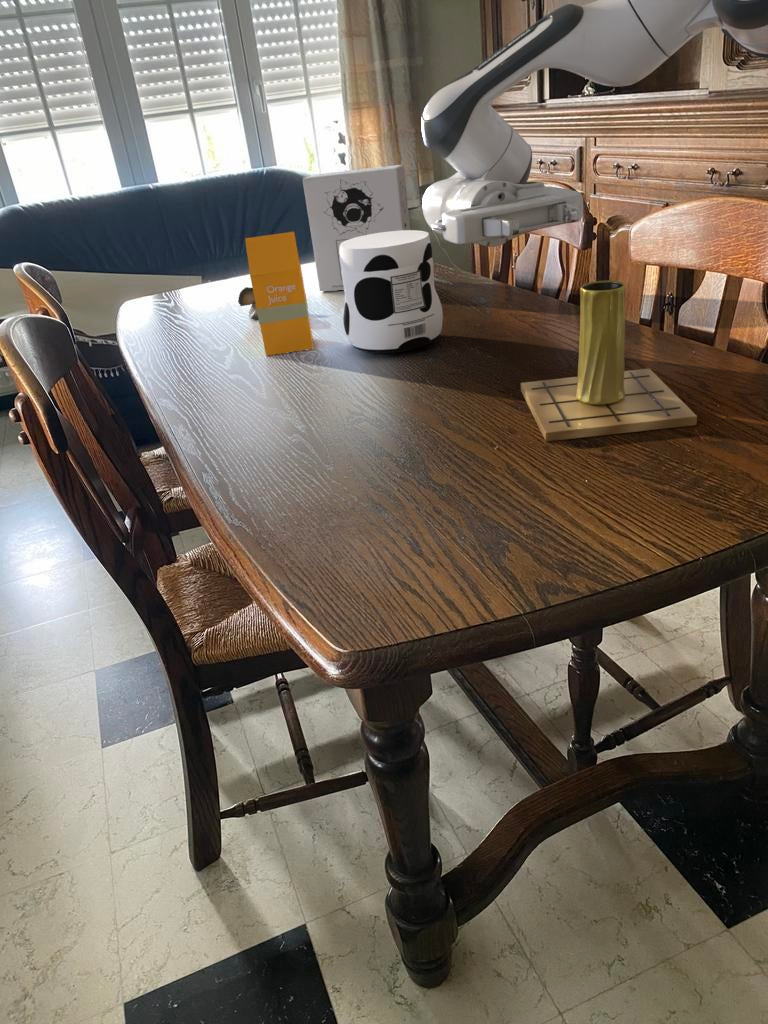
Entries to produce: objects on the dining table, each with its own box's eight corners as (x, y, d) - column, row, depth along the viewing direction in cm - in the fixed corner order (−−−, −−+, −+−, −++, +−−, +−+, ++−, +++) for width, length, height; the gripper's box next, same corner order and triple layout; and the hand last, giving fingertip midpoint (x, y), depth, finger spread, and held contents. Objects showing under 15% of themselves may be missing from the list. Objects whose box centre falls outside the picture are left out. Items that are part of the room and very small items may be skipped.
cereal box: (415, 279, 178) (404, 164, 165) (408, 286, 171) (397, 168, 159) (328, 285, 183) (312, 174, 171) (319, 292, 177) (301, 178, 165)
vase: (570, 392, 100) (570, 283, 93) (615, 385, 100) (619, 277, 93) (584, 408, 94) (585, 294, 88) (632, 401, 94) (637, 287, 88)
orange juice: (267, 344, 143) (245, 235, 133) (313, 338, 143) (294, 228, 133) (265, 356, 136) (242, 242, 126) (313, 349, 136) (294, 234, 126)
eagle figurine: (236, 308, 167) (231, 310, 159) (248, 278, 166) (244, 278, 157) (268, 323, 169) (264, 326, 160) (280, 293, 167) (277, 295, 158)
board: (649, 376, 105) (649, 367, 104) (696, 425, 89) (697, 415, 89) (520, 390, 106) (520, 381, 105) (545, 441, 90) (545, 431, 90)
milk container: (376, 329, 143) (363, 230, 134) (459, 331, 135) (452, 226, 126) (329, 359, 130) (312, 251, 121) (419, 363, 122) (408, 249, 113)
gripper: (424, 202, 104) (474, 209, 92) (547, 179, 110) (609, 183, 99) (428, 249, 107) (477, 261, 95) (548, 224, 113) (607, 233, 102)
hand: (545, 221), depth 97 cm, fingers open, 8 cm apart
